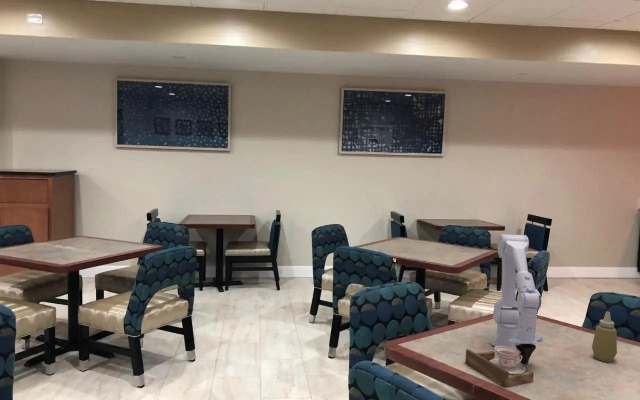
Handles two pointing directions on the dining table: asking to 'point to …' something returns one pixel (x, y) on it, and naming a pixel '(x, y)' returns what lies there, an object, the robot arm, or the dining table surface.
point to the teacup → (508, 359)
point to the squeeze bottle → (605, 340)
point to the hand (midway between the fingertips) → (523, 363)
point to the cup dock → (495, 369)
